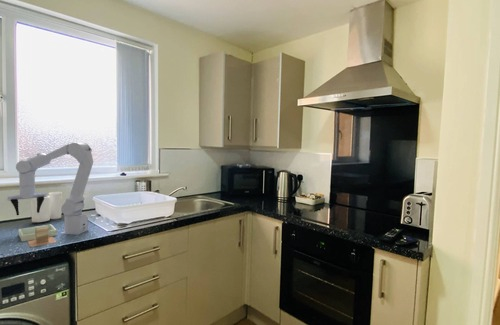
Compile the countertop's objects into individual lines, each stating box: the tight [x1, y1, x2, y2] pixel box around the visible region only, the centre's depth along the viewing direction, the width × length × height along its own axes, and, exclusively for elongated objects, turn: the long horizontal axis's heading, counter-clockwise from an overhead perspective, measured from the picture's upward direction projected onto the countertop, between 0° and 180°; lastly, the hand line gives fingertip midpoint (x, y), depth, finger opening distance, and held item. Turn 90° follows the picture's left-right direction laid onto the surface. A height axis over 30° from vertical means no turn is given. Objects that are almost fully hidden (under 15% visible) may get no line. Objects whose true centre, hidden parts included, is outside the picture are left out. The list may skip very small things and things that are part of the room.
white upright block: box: [47, 191, 64, 220], centre depth 159 cm, size 7×7×15 cm
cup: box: [30, 195, 51, 223], centre depth 150 cm, size 8×8×14 cm
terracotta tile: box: [27, 236, 57, 248], centre depth 120 cm, size 9×9×1 cm
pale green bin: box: [18, 223, 58, 242], centre depth 128 cm, size 13×13×3 cm
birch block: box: [34, 225, 49, 244], centre depth 120 cm, size 4×4×6 cm
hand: (28, 213), depth 132 cm, fingers open, 7 cm apart
